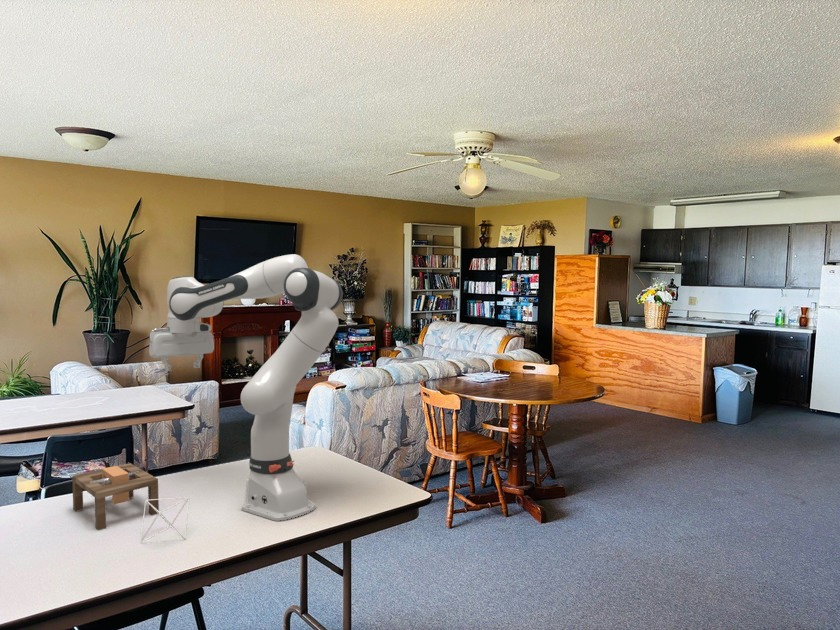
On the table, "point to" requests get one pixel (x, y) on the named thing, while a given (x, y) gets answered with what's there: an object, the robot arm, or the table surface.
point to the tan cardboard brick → (116, 476)
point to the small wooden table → (112, 490)
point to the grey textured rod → (107, 480)
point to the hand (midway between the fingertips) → (182, 369)
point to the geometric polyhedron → (164, 519)
